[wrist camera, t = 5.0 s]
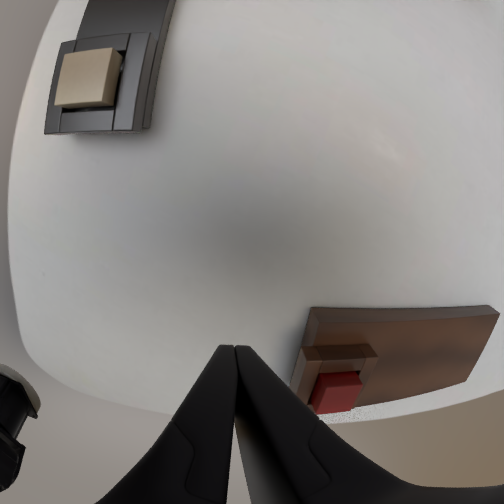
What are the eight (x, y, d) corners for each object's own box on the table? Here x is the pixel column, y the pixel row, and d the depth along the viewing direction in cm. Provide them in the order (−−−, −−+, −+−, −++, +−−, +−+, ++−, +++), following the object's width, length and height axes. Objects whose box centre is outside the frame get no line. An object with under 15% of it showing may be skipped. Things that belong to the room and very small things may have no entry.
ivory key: (113, 106, 13) (102, 101, 11) (68, 108, 12) (53, 105, 11) (123, 56, 12) (112, 47, 10) (77, 61, 11) (64, 54, 10)
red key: (343, 396, 21) (350, 411, 19) (309, 399, 20) (315, 415, 19) (355, 369, 20) (363, 384, 18) (319, 372, 19) (326, 388, 18)
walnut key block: (456, 371, 28) (472, 389, 24) (276, 397, 24) (283, 429, 21) (489, 305, 25) (510, 320, 21) (299, 306, 21) (314, 337, 18)
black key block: (149, 135, 16) (133, 131, 13) (69, 135, 15) (42, 134, 12) (199, -67, 11) (198, -92, 7) (128, -61, 10) (118, -83, 6)
